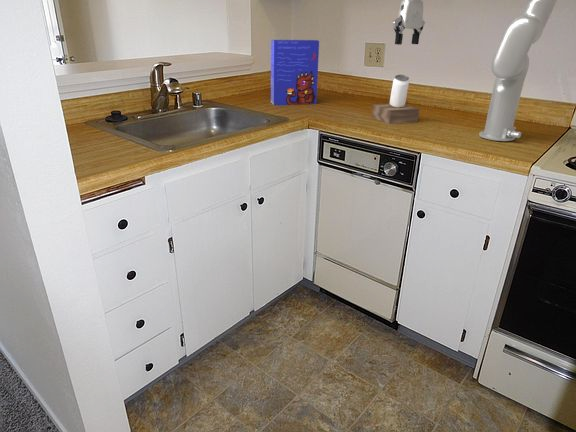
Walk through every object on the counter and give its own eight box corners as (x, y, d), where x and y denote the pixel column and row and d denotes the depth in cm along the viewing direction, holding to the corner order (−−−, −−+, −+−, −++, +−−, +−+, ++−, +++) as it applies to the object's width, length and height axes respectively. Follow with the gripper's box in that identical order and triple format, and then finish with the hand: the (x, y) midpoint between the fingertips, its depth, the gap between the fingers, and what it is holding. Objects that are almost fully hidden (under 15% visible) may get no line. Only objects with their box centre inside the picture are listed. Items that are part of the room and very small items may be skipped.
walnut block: (417, 123, 185) (419, 108, 182) (389, 125, 180) (390, 110, 178) (398, 116, 197) (400, 103, 194) (371, 118, 192) (373, 104, 190)
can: (404, 108, 183) (410, 81, 175) (389, 107, 184) (393, 80, 175) (404, 101, 187) (409, 74, 179) (389, 100, 188) (393, 73, 180)
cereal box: (312, 103, 222) (315, 39, 209) (316, 105, 216) (319, 40, 204) (270, 104, 216) (271, 39, 204) (273, 106, 211) (274, 39, 199)
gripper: (404, -5, 162) (398, 45, 169) (434, -3, 171) (428, 44, 178) (389, -4, 168) (384, 44, 175) (419, -2, 176) (414, 43, 184)
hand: (406, 44), depth 176 cm, fingers open, 9 cm apart
